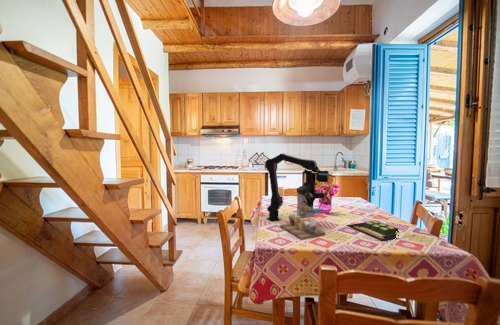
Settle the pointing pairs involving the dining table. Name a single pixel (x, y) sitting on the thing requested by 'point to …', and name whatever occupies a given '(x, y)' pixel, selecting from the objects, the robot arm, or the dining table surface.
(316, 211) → the lever
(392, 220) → the dining table surface
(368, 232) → the sushi
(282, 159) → the robot arm
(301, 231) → the valve board
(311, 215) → the coffee box
